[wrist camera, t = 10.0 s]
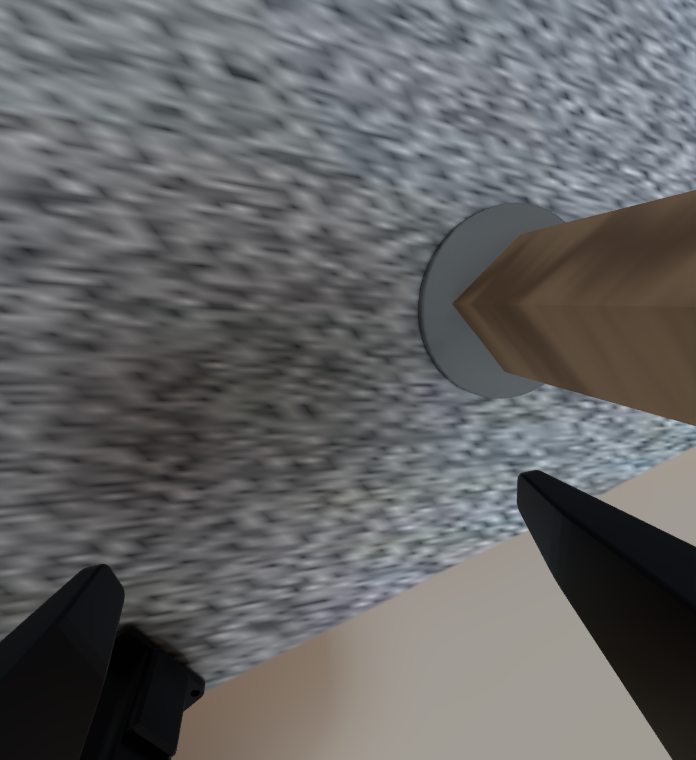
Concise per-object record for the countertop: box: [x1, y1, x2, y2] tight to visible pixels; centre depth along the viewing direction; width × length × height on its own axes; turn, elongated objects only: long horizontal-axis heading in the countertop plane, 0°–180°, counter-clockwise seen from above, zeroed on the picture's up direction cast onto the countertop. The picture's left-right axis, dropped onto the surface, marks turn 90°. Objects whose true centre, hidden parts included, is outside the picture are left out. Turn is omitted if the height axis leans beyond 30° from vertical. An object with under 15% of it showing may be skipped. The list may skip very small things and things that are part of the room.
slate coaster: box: [419, 203, 566, 398], centre depth 22 cm, size 11×11×1 cm
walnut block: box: [452, 190, 696, 426], centre depth 16 cm, size 6×6×12 cm
